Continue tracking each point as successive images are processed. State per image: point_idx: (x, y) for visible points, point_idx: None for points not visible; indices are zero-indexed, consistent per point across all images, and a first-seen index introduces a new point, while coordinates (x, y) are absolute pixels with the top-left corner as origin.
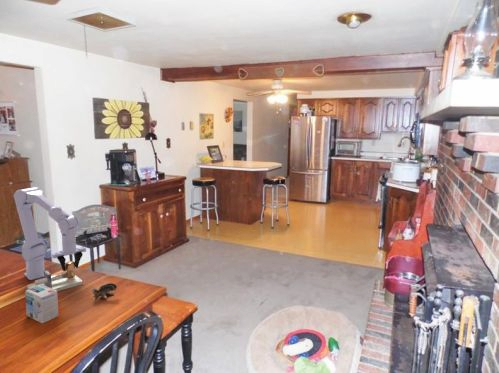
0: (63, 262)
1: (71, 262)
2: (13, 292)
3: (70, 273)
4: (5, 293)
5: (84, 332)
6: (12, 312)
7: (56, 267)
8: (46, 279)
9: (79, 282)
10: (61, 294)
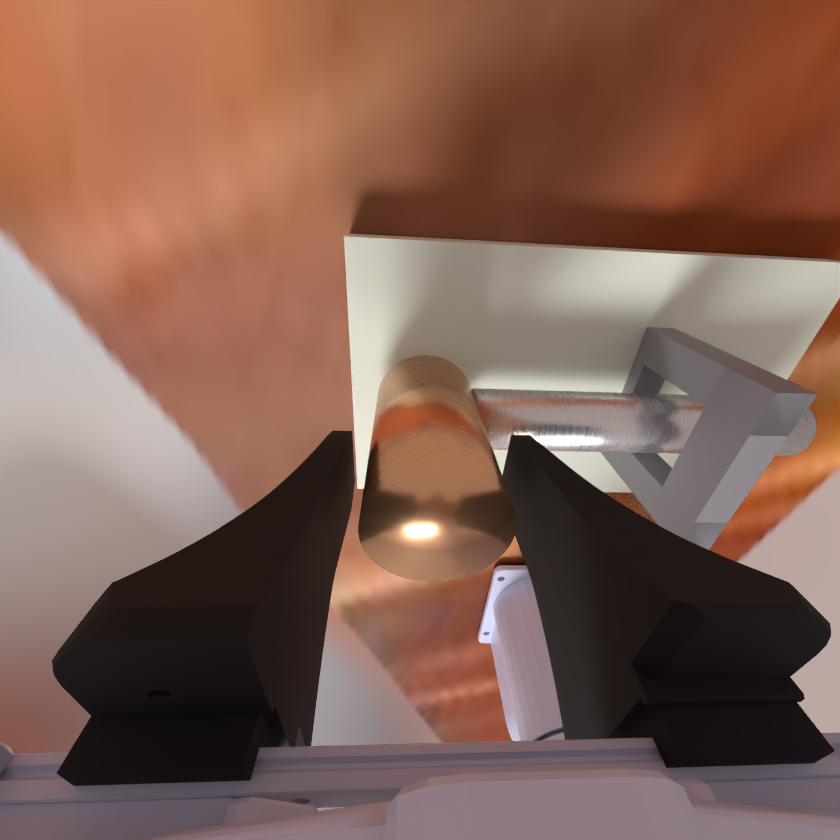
0: (636, 531)
1: (412, 531)
2: (785, 469)
3: (449, 387)
4: (815, 485)
5: None
6: None
7: (398, 629)
8: None
9: (383, 238)
10: (652, 112)
